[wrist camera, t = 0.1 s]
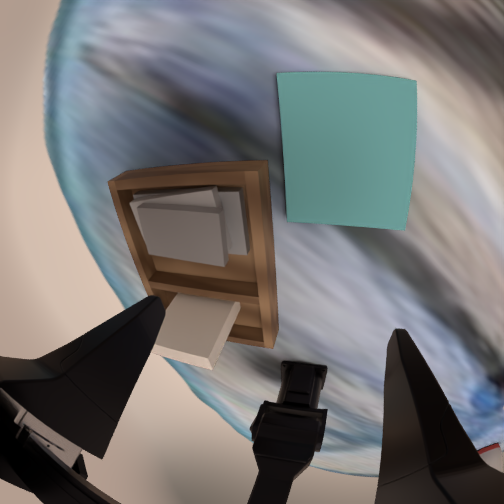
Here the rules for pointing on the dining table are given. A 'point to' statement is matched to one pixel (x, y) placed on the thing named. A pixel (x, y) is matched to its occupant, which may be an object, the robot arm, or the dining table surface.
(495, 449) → the citrus juicer
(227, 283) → the wooden divided tray
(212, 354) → the beige rectangular block
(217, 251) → the offcut stack
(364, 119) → the mat
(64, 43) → the dining table surface
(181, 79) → the dining table surface
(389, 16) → the dining table surface
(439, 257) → the dining table surface
